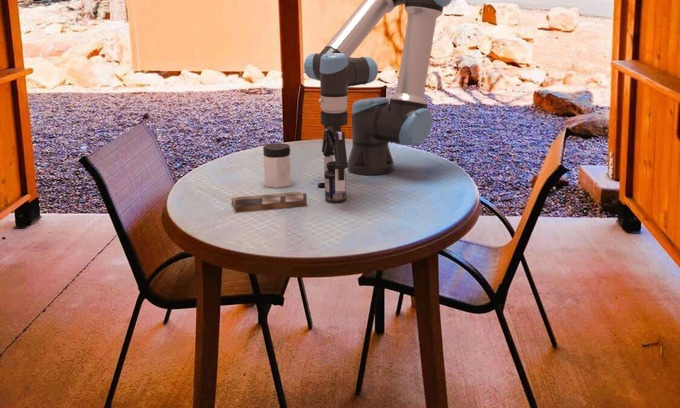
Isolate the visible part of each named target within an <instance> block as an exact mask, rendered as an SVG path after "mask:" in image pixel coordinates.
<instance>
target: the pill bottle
mask: <svg viewBox="0 0 680 408" xmlns="http://www.w3.org/2000/svg"><path fill="white" fill-rule="evenodd" d="M341 164H342V163H341ZM335 166H336V162H335V160H334V161H332V162H328V163H327V169H328V170H327V171H326V172H325V175H324V174H323V177H324V176H325V179H324V200H325V202H328V203H331V204H341V203H343V202H346V200H347V173H346V172H345V191H338V192H336V191H335V169H334V167H335Z"/></svg>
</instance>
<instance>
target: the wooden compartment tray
mask: <svg viewBox="0 0 680 408" xmlns="http://www.w3.org/2000/svg"><path fill="white" fill-rule="evenodd" d="M307 194H308V193H307V192H301V191H293V192H292V191H291V192H281V193H270V194H268V193H267V194H257V195H248V196H236V197H235V196H234V197H231V204H232V207H233V209H234V211H235V213H244V212H245V213H246V212H254V211H255V212H256V211H264V210H265V211H266V210H276V209H287V208H288V209H289V208H296V207H297V208H298V207H305V206H306V207H307V206H308V205H307V204H308V203H307V202H308V201H307V197H308V196H307Z"/></svg>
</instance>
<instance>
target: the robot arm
mask: <svg viewBox="0 0 680 408" xmlns="http://www.w3.org/2000/svg"><path fill="white" fill-rule="evenodd" d="M452 1H453V0H363V1H362V2H361V3H360V4H359V6H358V7H357V8H356V9H355V10H354V12H353V13H352V14H351V15H350V16H349V18H348V19H347V20H346V21H345V22H344V24H342V25H341V27H340V29H338V31H337V32H336V33H335V34H334V35H333V37H332V38H331V39H330V41H328V43H327V44H326V45H325V46H324V48H323V49H321V51H320V52H319V53H317V52H316V53H311V54H309V55H308V56H306V58H305V59H304V63H303V70H304V73H305V75H306V77H308V78H309V79H312V80H314V81H318V82H319V83H320V87H319V88H320V99H318V103H319V104H320V109H321V111H320V125H322V126H323V138H322V145H321V153H322V155H323V179H324V180H325V176H324V175H325V172H326V171H327V170H328V169H327V163H328V162H332V161H335V162H336V166H335V167H334V169H335V191H336V192H338V191H345V173H346V169H347V171H349V172H350V173H352V174H357V175H363V176H374V175H384V174H388V172H389V173H390V172H393V171H394V169H395V167H394V166H395V164H394V159H393V155H392V153H391V149H390V147H389V146H390V145H389V143H395V144H400V145H403V146H413V147H414V146H419V145H421V144H422V143H423V142H424V141H425V140H426V139H427V138H428V137H429V135H430V133H431V130H432V127H433V117H432V116H433V115H432V113H431V112H430V110H429V109H428V102H427V101H426V99H425V97H424V96H425V90H426V85H427V77H428V71H429V66H430V61H431V60H430V59H431V52H432V48H433V41H434V35H435V29H436V23H437V20H438V18H439V17H441V16H442V15H443V11H444V8H445V7H447V6H448V5H449V6H450V4H451V2H452ZM402 5H404V8H403V9H404V10H405V13H407V19H406V20H407V21H406V28H405V35H404V38H403V39H404V40H403V47H402V54H401V60H400V65H399V71H398V77H397V79H398V80H397V83H396V91H395V94H394V95H392V96H391V97H390V98H388V97H385V96H384V97H383V96H382V97H381V96H380V97H370V98H363V99H358V100H355V101H354V102H353V103H352V107H351V110H352V111H351V131H352V132H351V133H352V135H351V136H352V137H351V138H352V145H351V150H350V153H349V156H348V155H347V150H346V149H347V147H346V135H345V131H342V127H344V126H347V125H348V121H349V119H348V111H347V110H348V108H349V95H348V94H349V92H348V91H349V87H356V86H362V85H364V86H365V85H367V84H370V83H373V82H374V81H375V80H376V78H377V76H378V71H379V70H378V68H379V67H378V65H377V62H376V60H375V59H373V58H371V57H369V56H361V57H351V56H352V55H353V54H354V52H355V51H356V50H357V49H358V47H359V46H360V45H361V44H362V43H363V42H364V40H365V39H366V38H367V36H368V35H369V34H370V33H371V32H372V31H373V29H374V28H375V27H376V26H377V24H378V23H379V22H380V21H381V19H382V18H383V17H384V15H386V14H389V13H391V12H392V11H393V10H394V9H395V8H396V7H399V6H402ZM341 163H342V164H341ZM392 170H393V171H392Z"/></svg>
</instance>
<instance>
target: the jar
mask: <svg viewBox="0 0 680 408" xmlns="http://www.w3.org/2000/svg"><path fill="white" fill-rule="evenodd" d="M262 148H263V150H262V153H263V170H264V187H267V188H276V189H280V188H286V187H290V186H292V179H291V178H292V177H291V176H292V175H291V146H290V144H287V143H282V142H281V143H279V142H275V143H269V144H265V145H263V147H262Z"/></svg>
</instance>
